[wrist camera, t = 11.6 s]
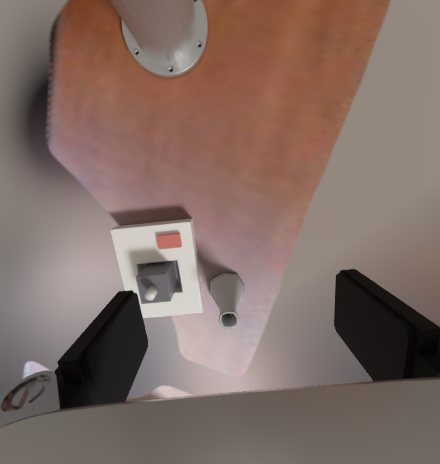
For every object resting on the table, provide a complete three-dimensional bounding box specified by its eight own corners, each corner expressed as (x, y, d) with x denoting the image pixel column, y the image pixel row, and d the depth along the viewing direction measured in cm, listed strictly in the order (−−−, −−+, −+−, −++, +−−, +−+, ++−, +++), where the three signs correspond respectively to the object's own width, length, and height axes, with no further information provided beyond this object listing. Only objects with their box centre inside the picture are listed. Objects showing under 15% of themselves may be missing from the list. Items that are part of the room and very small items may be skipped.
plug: (147, 262, 41) (130, 283, 33) (173, 260, 41) (162, 280, 33) (152, 286, 42) (137, 311, 34) (177, 283, 42) (168, 308, 34)
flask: (240, 268, 42) (247, 295, 33) (247, 300, 44) (255, 335, 34) (205, 275, 43) (201, 304, 33) (213, 306, 45) (211, 343, 35)
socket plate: (118, 226, 40) (108, 230, 36) (192, 218, 40) (189, 222, 36) (137, 309, 45) (130, 321, 41) (204, 303, 44) (202, 314, 41)
